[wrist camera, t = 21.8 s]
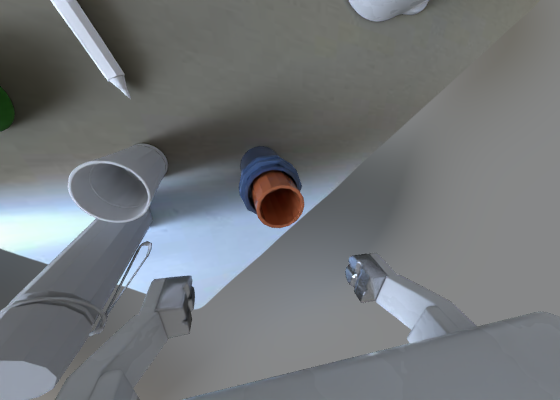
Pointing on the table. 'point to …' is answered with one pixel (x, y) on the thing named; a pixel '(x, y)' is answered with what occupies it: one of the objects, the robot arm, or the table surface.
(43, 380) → the water bottle
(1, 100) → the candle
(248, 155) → the cup stack
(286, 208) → the terracotta cup
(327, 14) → the table surface
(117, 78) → the marker
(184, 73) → the table surface
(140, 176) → the cup
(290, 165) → the stack rims
